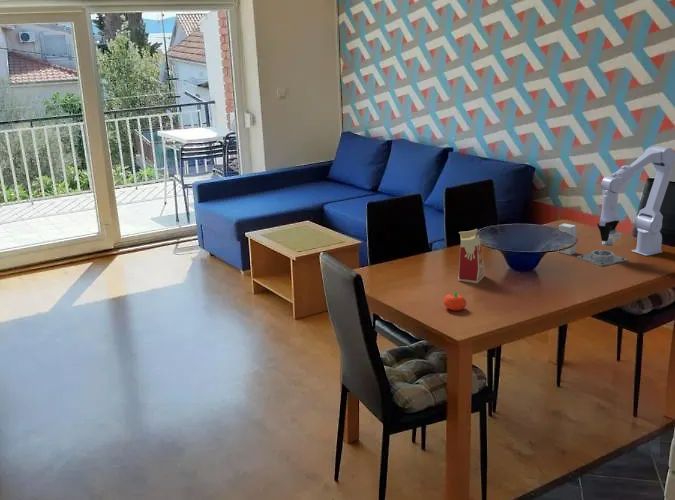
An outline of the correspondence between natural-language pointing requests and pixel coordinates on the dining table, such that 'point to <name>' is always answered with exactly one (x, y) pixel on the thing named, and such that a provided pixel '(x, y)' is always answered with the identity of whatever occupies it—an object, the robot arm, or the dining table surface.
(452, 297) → the pumpkin
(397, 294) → the dining table surface
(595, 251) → the duct flange
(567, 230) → the skincare box
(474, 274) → the milk carton
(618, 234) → the cylinder with square knob
